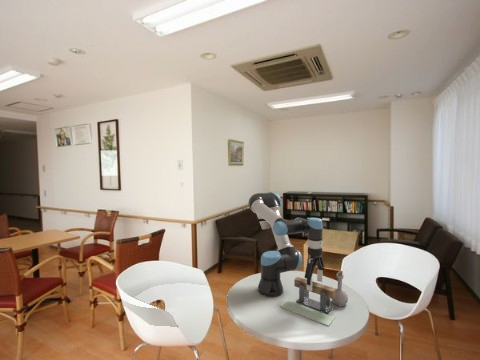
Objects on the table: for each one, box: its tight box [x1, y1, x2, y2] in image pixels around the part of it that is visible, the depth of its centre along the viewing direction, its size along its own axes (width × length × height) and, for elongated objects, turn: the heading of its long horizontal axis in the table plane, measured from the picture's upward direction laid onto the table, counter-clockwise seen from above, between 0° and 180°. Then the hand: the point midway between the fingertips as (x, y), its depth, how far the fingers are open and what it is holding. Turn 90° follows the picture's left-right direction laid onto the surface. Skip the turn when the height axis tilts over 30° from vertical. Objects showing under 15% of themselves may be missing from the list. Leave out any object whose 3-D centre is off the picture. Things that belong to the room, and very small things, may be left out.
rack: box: [295, 284, 334, 315], centre depth 139 cm, size 18×7×10 cm, turn 50°
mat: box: [280, 299, 336, 327], centre depth 132 cm, size 26×8×1 cm, turn 50°
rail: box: [293, 276, 337, 300], centre depth 138 cm, size 22×4×4 cm, turn 50°
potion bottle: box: [331, 270, 349, 307], centre depth 141 cm, size 9×9×18 cm
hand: (314, 285), depth 138 cm, fingers open, 13 cm apart
